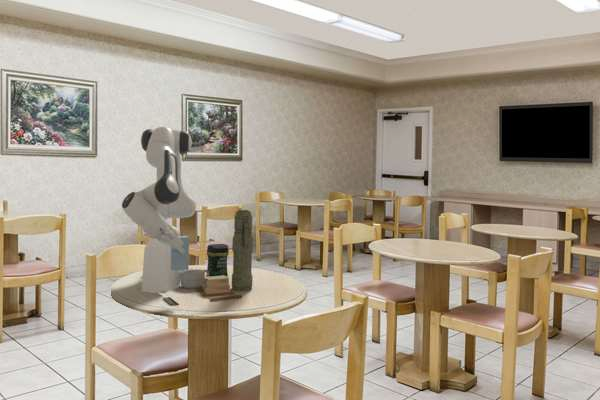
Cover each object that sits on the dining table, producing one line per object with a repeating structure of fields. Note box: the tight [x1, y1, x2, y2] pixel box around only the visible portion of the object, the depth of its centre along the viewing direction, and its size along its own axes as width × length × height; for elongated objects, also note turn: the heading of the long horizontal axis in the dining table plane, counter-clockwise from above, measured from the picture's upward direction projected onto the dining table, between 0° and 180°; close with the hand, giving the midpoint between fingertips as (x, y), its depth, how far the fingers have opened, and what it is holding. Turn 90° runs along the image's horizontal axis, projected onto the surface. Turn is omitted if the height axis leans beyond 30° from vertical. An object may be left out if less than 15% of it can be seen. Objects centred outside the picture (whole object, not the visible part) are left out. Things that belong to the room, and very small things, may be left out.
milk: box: [141, 238, 181, 295], centre depth 225 cm, size 12×12×26 cm
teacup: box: [180, 268, 209, 290], centre depth 230 cm, size 14×11×8 cm
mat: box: [162, 296, 180, 306], centre depth 209 cm, size 10×10×1 cm
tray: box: [195, 287, 243, 302], centre depth 216 cm, size 18×13×2 cm
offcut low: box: [202, 284, 231, 294], centre depth 220 cm, size 5×10×3 cm, turn 121°
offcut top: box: [204, 276, 230, 287], centre depth 220 cm, size 5×9×3 cm, turn 121°
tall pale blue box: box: [171, 235, 190, 271], centre depth 207 cm, size 4×6×13 cm, turn 121°
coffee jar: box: [206, 243, 230, 278], centre depth 238 cm, size 10×8×19 cm
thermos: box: [231, 209, 254, 292], centre depth 226 cm, size 9×12×35 cm
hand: (181, 251), depth 208 cm, fingers closed on tall pale blue box, 3 cm apart
